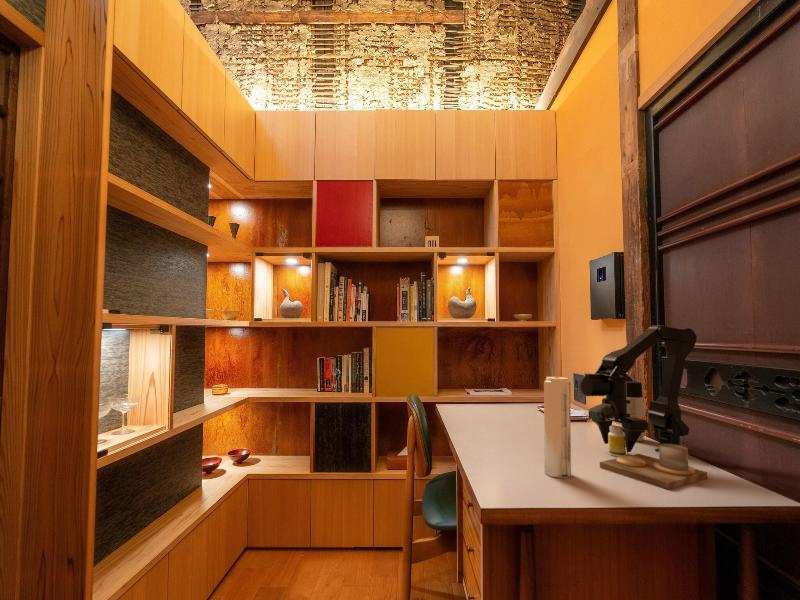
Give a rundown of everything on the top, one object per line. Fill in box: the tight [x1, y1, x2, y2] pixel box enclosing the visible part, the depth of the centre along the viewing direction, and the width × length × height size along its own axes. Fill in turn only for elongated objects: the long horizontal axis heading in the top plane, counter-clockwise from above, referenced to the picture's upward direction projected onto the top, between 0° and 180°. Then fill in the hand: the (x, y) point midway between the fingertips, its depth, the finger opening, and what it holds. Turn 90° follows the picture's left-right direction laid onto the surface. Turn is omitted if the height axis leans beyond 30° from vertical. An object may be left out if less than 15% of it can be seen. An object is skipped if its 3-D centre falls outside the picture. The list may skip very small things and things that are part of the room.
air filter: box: [543, 376, 572, 479], centre depth 110 cm, size 6×6×25 cm
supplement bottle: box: [607, 424, 627, 458], centre depth 128 cm, size 5×5×8 cm
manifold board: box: [599, 443, 708, 490], centre depth 112 cm, size 18×18×7 cm
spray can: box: [621, 380, 645, 442], centre depth 148 cm, size 7×7×20 cm
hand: (617, 447), depth 128 cm, fingers open, 9 cm apart
